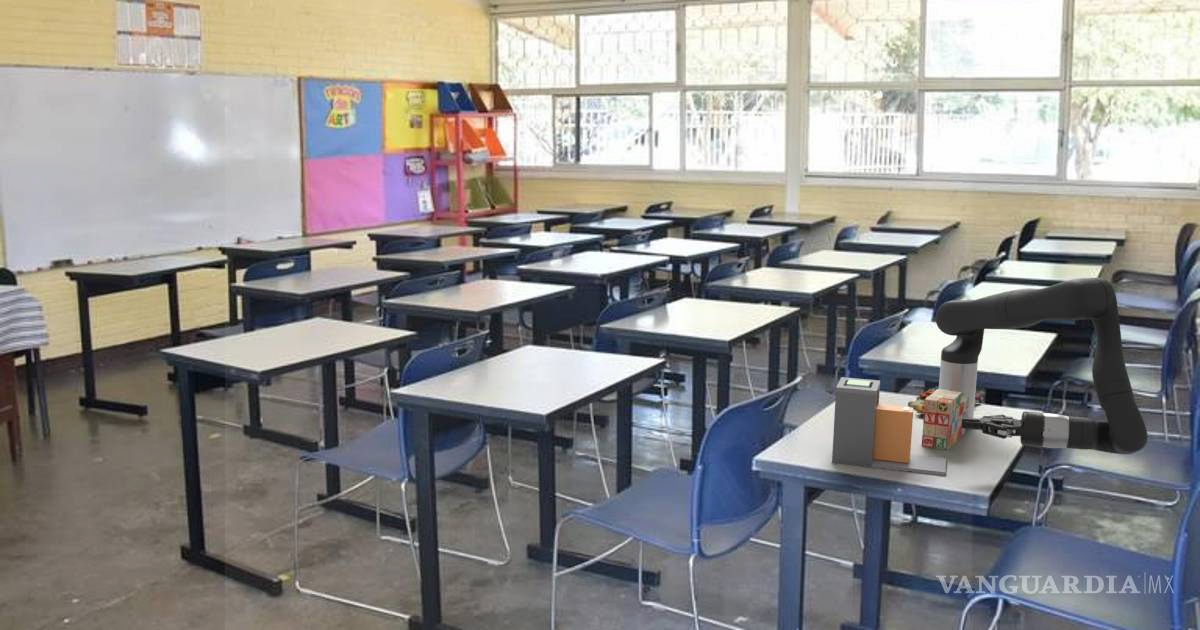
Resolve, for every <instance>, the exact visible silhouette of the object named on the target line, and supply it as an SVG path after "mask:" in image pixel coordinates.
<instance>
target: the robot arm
mask: <svg viewBox="0 0 1200 630" xmlns="http://www.w3.org/2000/svg"><path fill="white" fill-rule="evenodd" d="M1117 300H1118V299H1117V295H1116V291H1115V289H1114V286H1113V285H1112V284H1111V282H1110V281H1108V280H1107V279H1105V278H1102V277H1086V278H1085V277H1082V278H1081V277H1080V278H1072V279H1068V280H1065V281H1062V282H1059V283H1056V284H1053V285H1050V286H1045V287H1043V288H1042V287H1041V288H1021V289H1014V290H1007V291H1002V292H999V293H995V294H990V295H988V296H983V297H980V298H976V299H957V300H949V301H945V302H944V303H942V304H941V305H940V306H939V307H938V309H937V310H936V314H935V318H934V319H935V324H936V326H937V328H938V329H939V330H940V331H941V332H943V334H945V335H949V336H953V337H954V336H955V337H956V338H955V339H954V340H953V341H952V342H951V343H950V344H948V345H946V346H944V347H943V348H942V349H941V354H940V363H939V364H940V366H939V367H940V368H939V380H938V381H939V382H938V387H939V389H942V390H949V391H957V392H962V396H969V402H968V418H965V417H964V418H962V424H961V427H962V428H965V429H967V430H975V431H976V430H978V431H980V433H982V434H985V435H988V436H991V437H996V438H1001V439H1007V438H1008V439H1009V438H1013V437H1019V439H1020V440H1019V441H1020V444H1021V445H1022V446H1029V447H1039V448H1040V447H1041V448H1049V449H1051V448H1052V449H1073V450H1075V449H1076V450H1093V451H1097V452H1098V451H1099V452H1102V453H1108V454H1109V453H1110V454H1117V455H1132V454H1135V453H1138V452H1139V451H1141V450H1143V449H1144V448H1145V446H1147V445H1146V444H1147V442H1148V440H1149V439H1148V431H1147V430H1148V429H1147V427H1146V424H1145V421H1144V419H1143V416H1142V414H1141V411H1140V409H1139V407H1138V404H1137V403H1136V400H1135V395H1134V391H1133V387H1132V384H1131V381H1130V377H1129V374H1128V370H1127V367H1126V364H1125V358H1124V350H1123V342H1122V331H1121V323H1120V316H1119V315H1120V314H1119V307H1118V306H1119V305H1118V301H1117ZM1048 320H1073V321H1082V320H1091V322H1092V324H1093V327H1094V330H1095V335H1096V347H1095V353H1094V356H1093V361H1092V362H1093V363H1092V367H1091V370H1092V373H1091V374H1092V381H1093V386H1094V389H1095V393H1096V396H1097V398H1098V403H1099V405H1100V407H1101V410H1102V411H1104V413H1105V417H1106V420H1107V421H1102V420H1095V419H1093V418H1090V417H1083V416H1070V415H1063V414H1058V413H1048V412H1038V411H1036V412H1035V411H1027V410H1025V411H1023V412H1022V414H1021V419H1017V418H1013V416H1009V415H1008V416H1007V415H1005V414H995V415H983V416H982V417H980V418H975V417H974V416H975V415H974V413H975V405H976V404H975V392H976V393H977V391H976V388H977V378H978V364H979V363H978V362H979V356H980V354H981V351H982V349H983V343H984V342H983V341H984V334H985V330H1012V329H1014V330H1015V329H1023V328H1028V327H1031V326H1035V325H1038V324H1039V323H1041V322H1044V321H1048ZM974 404H975V405H974Z"/></svg>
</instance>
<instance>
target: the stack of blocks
mask: <svg viewBox="0 0 1200 630" xmlns="http://www.w3.org/2000/svg"><path fill="white" fill-rule="evenodd" d="M968 402H969V396H962V392H957V391H949V390H942V389H937V390H936V391H935V392H934V393H932V394H931V395H930V396H929V397H927V398H926V399H925V406H924V414H923V422H922V423H923V424H922V425H923V426H922V435H921V447H924V446H926V447H925V448H930V447H932V448H931V449H936V448H938V450H942V449H944V450H943V451H948V450H949V449H950V448H952V447H953V445H954V444H956V443H957V441H958V440H959V438H960V437H961V436H963V435H964V434H965V433H966V432H967V431H968V429H965V428H962V427H961V424H962V418H964V417H965V418H968ZM948 448H949V449H948Z"/></svg>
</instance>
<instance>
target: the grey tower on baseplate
mask: <svg viewBox="0 0 1200 630" xmlns="http://www.w3.org/2000/svg"><path fill="white" fill-rule="evenodd" d="M849 379H851V380H862V381H871V383H870V388H865V387H854V386H846V384H847V382H848V380H849ZM880 390H881V380H876V379H866V378H865V379H864V378H857V377H856V378H855V377H845V376H843V377H840V378H839V381H838V383H837V385H836V386H835V400H834V401H835V402H834V418H833V433H832V434H833V435H832V436H833V438H832V455H831V464H832V463H833V464H840V465H847V466H849V465H850V466H858V467H865V466H866V468H873V467H877V468H876V469H882V468H885V469H884V470H891V469H894V470H893V471H899V470H902V471H901V472H908V471H912V472H911V473H917V472H919V473H918V474H927V475H935V476H946V468H947V458H946V457H938V456H929V455H928V456H927V455H919V454H910V461H909V463H903V462H895V461H886V460H877V459H873V455H874V439H875V423H876V409H877V406H878V404H879V405H880V393H881V392H880Z"/></svg>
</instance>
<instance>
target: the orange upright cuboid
mask: <svg viewBox="0 0 1200 630" xmlns="http://www.w3.org/2000/svg"><path fill="white" fill-rule="evenodd" d="M913 419H914V408H911V407H910V406H909V407H908V406H897V405H889V404H888V405H887V404H880V403H879V404H878V406H877V409H876V423H875V439H874V455H873V459H877V460H886V461H895V462H903V463H909V461H910V455H911V450H912V449H911V448H912V447H911V446H912V436H913V435H912V434H913V432H912V431H913V421H914V420H913Z"/></svg>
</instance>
